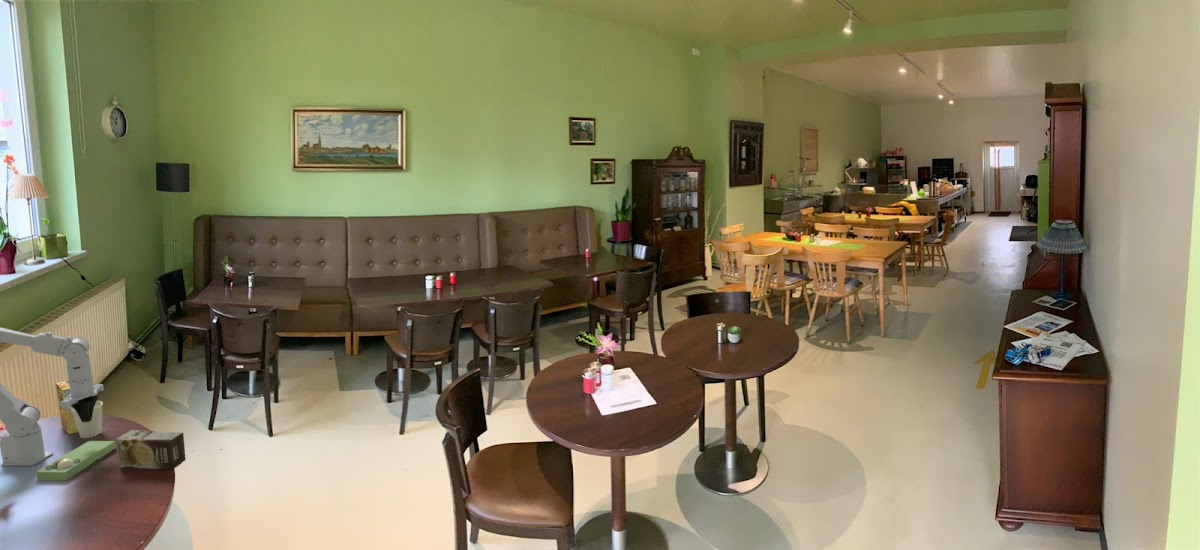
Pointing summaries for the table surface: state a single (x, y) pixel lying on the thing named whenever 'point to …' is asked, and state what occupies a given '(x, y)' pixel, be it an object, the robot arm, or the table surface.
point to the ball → (65, 463)
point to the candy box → (66, 413)
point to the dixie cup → (90, 422)
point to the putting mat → (76, 460)
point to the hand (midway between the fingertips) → (86, 421)
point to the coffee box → (151, 449)
